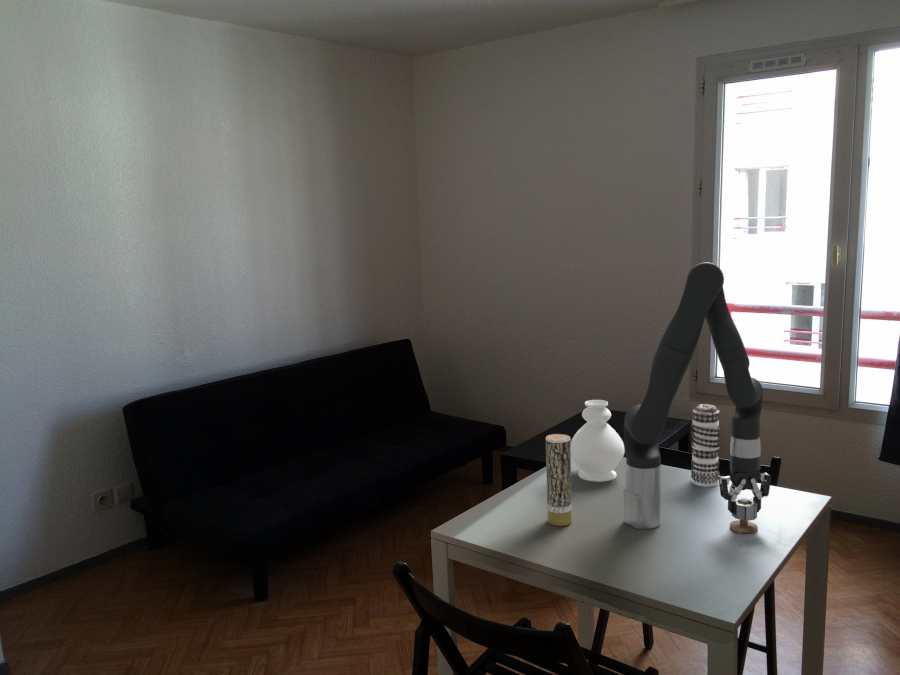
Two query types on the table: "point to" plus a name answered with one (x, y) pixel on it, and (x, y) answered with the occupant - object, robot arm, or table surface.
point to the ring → (745, 510)
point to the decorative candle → (705, 445)
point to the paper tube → (558, 479)
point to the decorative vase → (597, 444)
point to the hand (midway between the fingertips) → (744, 512)
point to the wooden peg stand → (743, 524)
